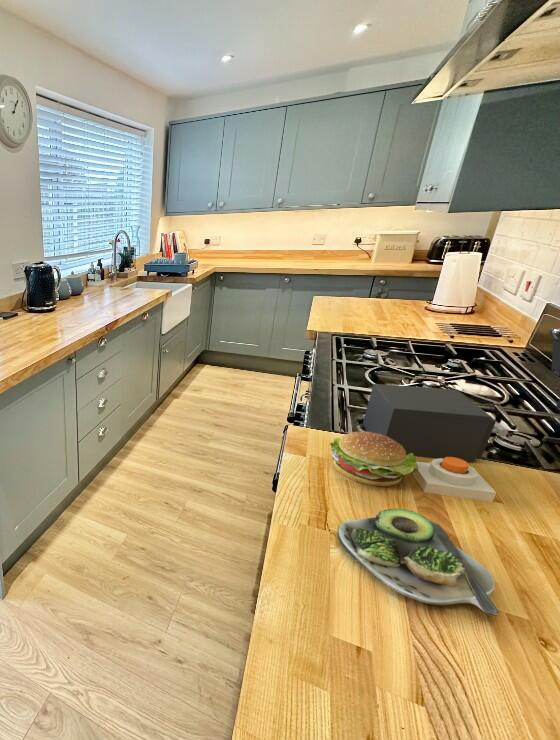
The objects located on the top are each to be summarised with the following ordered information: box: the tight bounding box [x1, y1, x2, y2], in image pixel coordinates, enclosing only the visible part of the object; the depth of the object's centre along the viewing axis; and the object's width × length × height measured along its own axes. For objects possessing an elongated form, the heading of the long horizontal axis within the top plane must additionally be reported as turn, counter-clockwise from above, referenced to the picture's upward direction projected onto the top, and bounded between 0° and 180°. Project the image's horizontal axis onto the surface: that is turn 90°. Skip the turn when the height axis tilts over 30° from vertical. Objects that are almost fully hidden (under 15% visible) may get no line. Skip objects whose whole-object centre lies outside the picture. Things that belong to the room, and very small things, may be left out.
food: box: [329, 430, 418, 487], centre depth 85 cm, size 14×14×8 cm
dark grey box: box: [362, 383, 493, 464], centre depth 94 cm, size 16×14×11 cm
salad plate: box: [337, 508, 500, 617], centre depth 63 cm, size 19×18×5 cm
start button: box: [441, 457, 470, 474], centre depth 80 cm, size 4×4×2 cm
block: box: [410, 458, 497, 503], centre depth 80 cm, size 10×8×4 cm
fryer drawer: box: [475, 417, 509, 460], centre depth 92 cm, size 19×13×9 cm
